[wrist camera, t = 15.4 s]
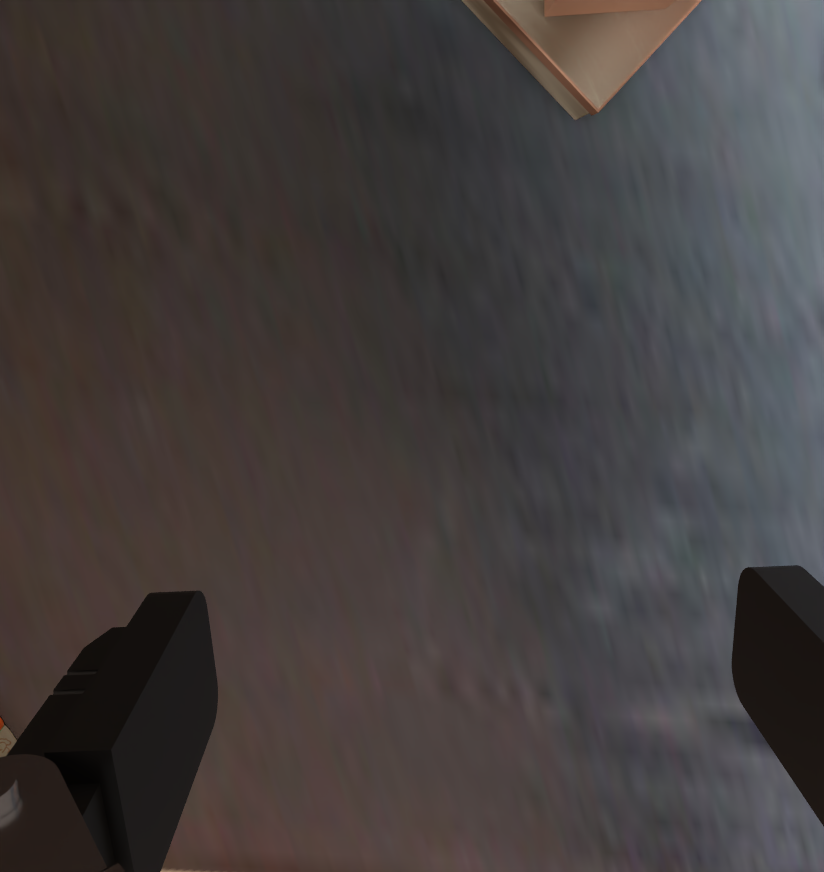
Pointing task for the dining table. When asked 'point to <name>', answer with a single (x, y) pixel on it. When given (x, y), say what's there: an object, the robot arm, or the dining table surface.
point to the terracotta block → (600, 6)
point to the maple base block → (579, 46)
